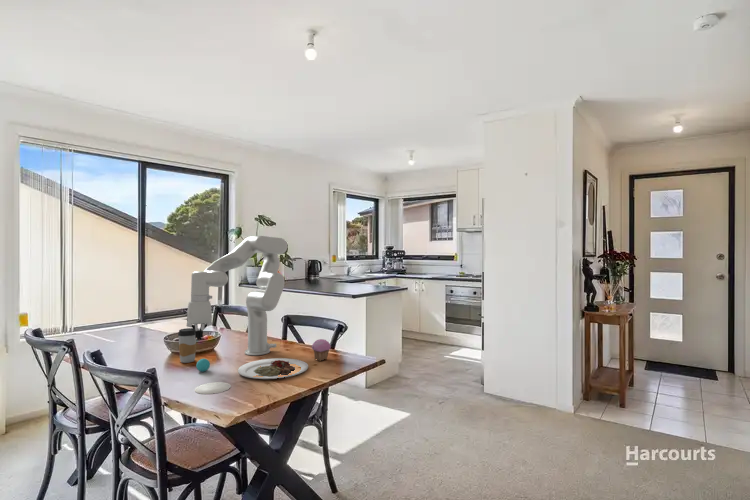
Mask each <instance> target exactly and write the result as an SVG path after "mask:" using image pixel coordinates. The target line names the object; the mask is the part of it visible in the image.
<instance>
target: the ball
mask: <svg viewBox="0 0 750 500" xmlns="http://www.w3.org/2000/svg"><path fill="white" fill-rule="evenodd" d="M210 365H211V363H210V360H209V359H207V358H201V359H199V360H198V361H197V362H196V365H195V366H196V369H197V371H199V372H203V373H204V372H207V371H208V370H209V369H210V367H211V366H210Z"/></svg>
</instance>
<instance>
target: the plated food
mask: <svg viewBox="0 0 750 500" xmlns="http://www.w3.org/2000/svg"><path fill="white" fill-rule="evenodd" d="M289 363H290V364H296V365H298V366H300V367H301V370H300V371H299V372H297V373H295V374H292V375H288V374H289V373H291V371H294V370H295V367H293V366H290V364H289ZM260 366H261V367H260ZM308 369H309V364H308V363H307V362H305V361H303V360H300V359H297V358H286V357H285V358H284V357H283V358H282V357H278V358H264V359H258V360H253V361H250V362H247V363H244V364H242V365H240V366H239V368H238V369H237V373H238V374H239V375H240V376H242V377H245V378H249V379H257V380H278V379H277V378H279V379H283V378H284V377H285V378H289V377H293V376H296V375H300V374H301V373H302V374H303V373H304V372H306V371H307V370H308ZM280 374H281V375H288V376H283V377H278V375H280ZM256 375H258V376H263V377H253V376H256Z"/></svg>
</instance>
